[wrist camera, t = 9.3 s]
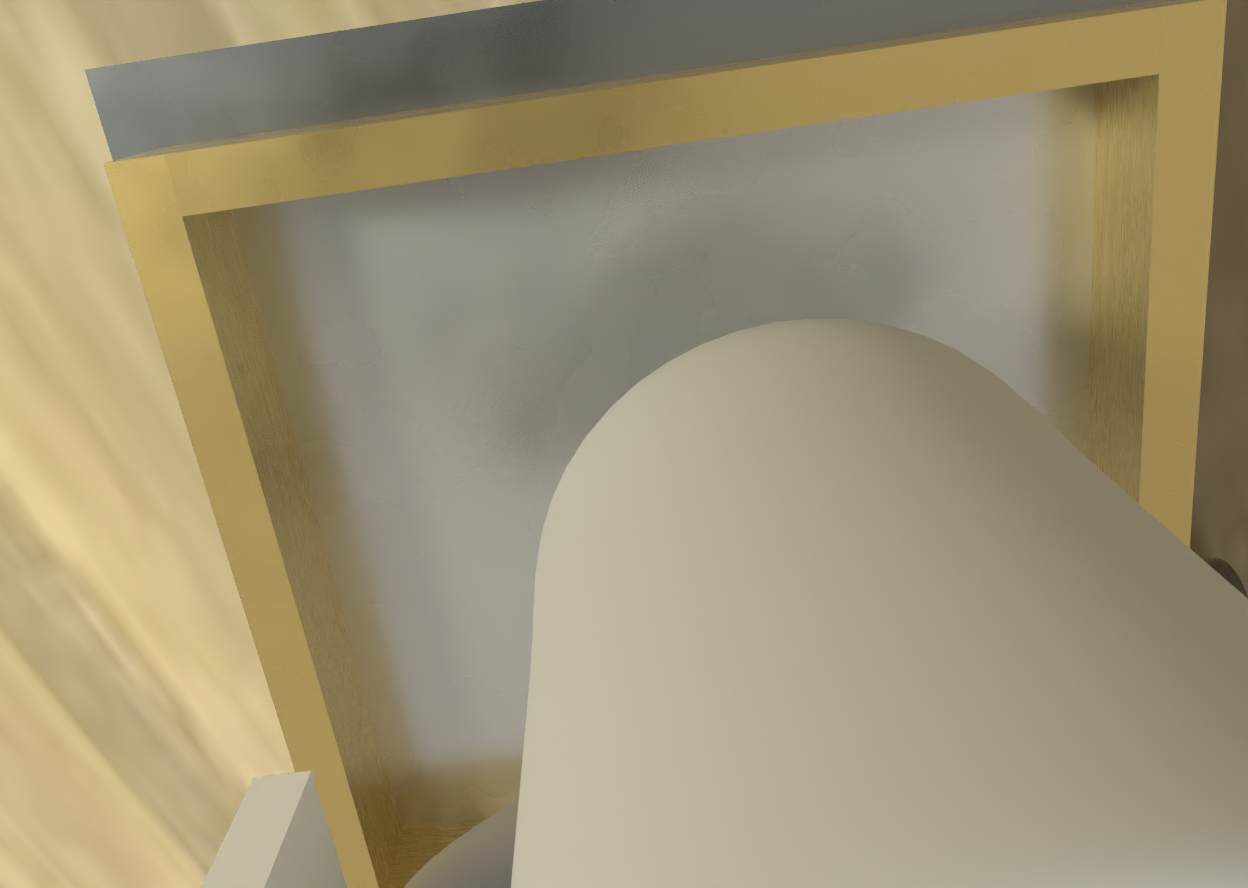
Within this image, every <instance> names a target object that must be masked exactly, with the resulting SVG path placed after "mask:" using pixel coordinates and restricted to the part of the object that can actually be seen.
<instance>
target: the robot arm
mask: <svg viewBox="0 0 1248 888" xmlns="http://www.w3.org/2000/svg"><path fill="white" fill-rule="evenodd" d="M201 888H347V885H346V882H345V879H344V876H343V872H342V869H341V866H340V863H339V859H338V856H337V853H336V849H335V846H334V843H333V840H332V836H331V833H330V830H329V827H328V823H327V820H326V817H325V813H324V810H323V807H322V804H321V800H320V797H319V794H318V791H317V787H316V784H315V781H314V777H313V774H312V771H303V772H295V773H287V774H279V775H271V776H263V777H255V778H253V780H252V782H251V784H250V786H249V788H248V790H247V792H246V795H245V797H244V799H243V801H242V803H241V805H240V807H239V809H238V811H237V813H236V815H235V818H234V820H233V822H232V824H231V826H230V828H229V830H228V832H227V834H226V836H225V839H224V841H223V843H222V845H221V847H220V849H219V851H218V853H217V855H216V857H215V860H214V862H213V864H212V866H211V868H210V870H209V872H208V874H207V876H206V878H205V881H204V883H203V885H202V887H201Z"/></svg>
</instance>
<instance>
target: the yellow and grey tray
mask: <svg viewBox="0 0 1248 888" xmlns="http://www.w3.org/2000/svg"><path fill="white" fill-rule="evenodd" d="M1226 10H1227V0H542V1H535V2H528V3H522V4H515V5H509V6H502V7H495V8H489V9H482V10H476V11H469V12H463V13H456V14H449V15H443V16H436V17H430V18H423V19H416V20H410V21H403V22H397V23H390V24H383V25H377V26H370V27H364V28H357V29H350V30H344V31H337V32H331V33H324V34H317V35H311V36H304V37H298V38H291V39H285V40H278V41H271V42H265V43H258V44H252V45H245V46H238V47H232V48H225V49H219V50H212V51H205V52H199V53H192V54H186V55H179V56H172V57H166V58H159V59H153V60H146V61H139V62H133V63H126V64H120V65H113V66H107V67H100V68H93V69H87V70H85V72H86V75H87V78H88V81H89V85H90V88H91V91H92V94H93V97H94V101H95V104H96V107H97V110H98V113H99V117H100V120H101V123H102V126H103V129H104V133H105V136H106V139H107V142H108V146H109V149H110V152H111V155H112V158H113V161H112V162H108V163H104V166H105V169H106V173H107V176H108V179H109V182H110V185H111V188H112V192H113V195H114V198H115V201H116V204H117V207H118V211H119V214H120V217H121V220H122V223H123V227H124V230H125V233H126V236H127V239H128V242H129V246H130V249H131V252H132V255H133V258H134V261H135V265H136V268H137V271H138V274H139V277H140V280H141V284H142V287H143V290H144V293H145V296H146V300H147V303H148V306H149V309H150V312H151V315H152V319H153V322H154V325H155V328H156V331H157V334H158V338H159V341H160V344H161V347H162V350H163V353H164V357H165V360H166V363H167V366H168V369H169V372H170V376H171V379H172V382H173V385H174V388H175V392H176V395H177V398H178V401H179V404H180V407H181V411H182V414H183V417H184V420H185V423H186V426H187V430H188V433H189V436H190V439H191V442H192V445H193V449H194V452H195V455H196V458H197V461H198V465H199V468H200V471H201V474H202V477H203V480H204V484H205V487H206V490H207V493H208V496H209V499H210V503H211V506H212V509H213V512H214V515H215V518H216V522H217V525H218V528H219V531H220V534H221V538H222V541H223V544H224V547H225V550H226V553H227V557H228V560H229V563H230V566H231V569H232V572H233V576H234V579H235V582H236V585H237V588H238V591H239V595H240V598H241V601H242V604H243V607H244V611H245V614H246V617H247V620H248V623H249V626H250V630H251V633H252V636H253V639H254V642H255V645H256V649H257V652H258V655H259V658H260V661H261V664H262V668H263V671H264V674H265V677H266V680H267V684H268V687H269V690H270V693H271V696H272V699H273V703H274V706H275V709H276V712H277V715H278V718H279V722H280V725H281V728H282V731H283V734H284V737H285V741H286V744H287V747H288V750H289V753H290V756H291V760H292V763H293V766H294V769H295V772H303V771H312V774H313V777H314V781H315V784H316V787H317V791H318V794H319V797H320V800H321V804H322V807H323V810H324V813H325V817H326V820H327V823H328V827H329V830H330V833H331V836H332V840H333V843H334V846H335V849H336V853H337V856H338V859H339V863H340V866H341V869H342V872H343V876H344V879H345V882H346V885H347V888H404V887H405V885H406V884H407V883H408V882H409V881H410V880H411V878H412V877H413V876H414V875H415V874H416V873H417V872H418V871H419V870H420V869H421V868H422V867H423V866H424V865H425V864H426V863H427V862H428V861H430V860H431V859H432V858H433V857H435V856H436V855H437V854H438V853H440V852H441V851H442V850H443V849H445V848H446V847H447V846H448V845H450V844H451V843H452V842H453V841H455V840H456V839H458V838H459V837H461V836H462V835H463V834H465V833H466V832H468V831H469V830H471V829H472V828H473V827H475V826H476V825H478V824H480V823H481V822H483V821H484V820H486V819H487V818H489V817H491V816H492V815H494V814H495V813H497V812H498V811H500V810H502V809H503V808H505V807H507V806H508V805H510V804H512V803H513V802H515V801H516V800H518V799H519V792H520V781H521V770H522V759H523V748H524V737H525V725H526V714H527V703H528V692H529V679H530V666H531V651H532V635H533V608H534V586H535V574H536V567H537V560H538V553H539V546H540V539H541V535H542V530H543V526H544V523H545V520H546V517H547V513H548V510H549V507H550V503H551V500H552V497H553V495H554V493H555V490H556V488H557V486H558V484H559V482H560V480H561V478H562V475H563V473H564V471H565V469H566V467H567V465H568V464H569V462H570V461H571V459H572V457H573V456H574V454H575V453H576V451H577V450H578V448H579V446H580V445H581V443H582V442H583V440H584V439H585V437H586V436H587V435H588V433H589V432H590V431H591V430H592V429H593V428H594V426H595V425H596V424H597V423H598V422H599V420H600V419H601V418H602V417H603V416H604V415H605V413H606V412H607V411H608V410H609V409H610V408H611V406H613V405H614V404H615V403H616V402H617V401H618V400H619V399H620V398H621V397H623V396H624V395H625V394H626V393H627V392H628V391H629V390H630V389H631V388H632V387H634V386H635V385H636V384H637V383H638V382H640V381H641V380H642V379H644V378H645V377H647V376H648V375H650V374H651V373H652V372H654V371H655V370H657V369H658V368H660V367H661V366H663V365H664V364H665V363H667V362H668V361H670V360H672V359H674V358H676V357H678V356H680V355H682V354H684V353H686V352H688V351H689V350H691V349H693V348H695V347H697V346H699V345H701V344H703V343H706V342H709V341H711V340H714V339H717V338H719V337H722V336H725V335H727V334H730V333H733V332H735V331H739V330H743V329H747V328H752V327H756V326H760V325H764V324H769V323H773V322H782V321H791V320H801V319H810V318H814V319H851V320H858V321H865V322H872V323H878V324H885V325H891V326H894V327H897V328H901V329H904V330H908V331H911V332H914V333H918V334H921V335H925V336H927V337H929V338H931V339H934V340H936V341H938V342H940V343H942V344H945V345H947V346H949V347H951V348H953V349H956V350H958V351H959V352H961V353H963V354H964V355H966V356H967V357H969V358H970V359H972V360H974V361H975V362H977V363H978V364H980V365H981V366H983V367H985V368H986V369H988V370H989V371H991V372H992V373H994V374H995V375H997V376H998V377H999V378H1000V379H1002V380H1003V381H1004V382H1005V383H1006V384H1007V385H1008V386H1010V387H1011V388H1012V389H1013V390H1014V391H1015V392H1017V393H1018V394H1019V395H1020V396H1021V397H1022V398H1024V399H1025V400H1026V401H1027V402H1028V403H1029V404H1030V405H1032V406H1033V407H1034V408H1035V409H1036V410H1037V411H1038V412H1039V413H1040V414H1041V415H1042V416H1044V417H1045V418H1046V419H1047V420H1048V421H1049V422H1050V423H1051V424H1052V425H1053V426H1054V427H1055V428H1056V429H1057V430H1058V431H1059V432H1060V433H1061V434H1062V435H1063V436H1064V437H1065V438H1066V439H1067V440H1068V441H1069V442H1070V443H1071V444H1073V445H1074V446H1075V447H1076V448H1077V449H1078V450H1079V451H1080V452H1081V453H1082V454H1083V455H1084V456H1086V457H1087V458H1088V459H1089V460H1090V461H1091V462H1092V463H1093V464H1094V465H1095V466H1096V467H1098V468H1099V469H1100V470H1101V471H1102V472H1103V473H1104V474H1105V475H1107V476H1108V477H1109V478H1110V479H1111V480H1112V481H1113V482H1114V483H1115V484H1117V485H1118V486H1119V487H1120V488H1121V489H1122V490H1123V491H1125V492H1126V493H1127V494H1128V495H1129V496H1130V497H1131V498H1133V499H1134V500H1135V501H1136V502H1137V503H1138V504H1139V505H1141V506H1142V507H1143V508H1144V509H1145V510H1146V511H1147V512H1149V513H1150V514H1151V515H1152V516H1153V517H1154V518H1156V519H1157V520H1158V521H1159V522H1160V523H1161V524H1162V525H1164V526H1165V527H1166V528H1167V529H1168V530H1169V531H1171V532H1172V533H1173V534H1174V535H1175V536H1176V537H1177V538H1179V539H1180V540H1181V541H1182V542H1183V543H1184V544H1185V545H1187V546H1188V547H1189V548H1190V538H1191V523H1192V508H1193V494H1194V479H1195V464H1196V450H1197V435H1198V420H1199V406H1200V391H1201V376H1202V362H1203V347H1204V332H1205V318H1206V303H1207V288H1208V274H1209V259H1210V244H1211V230H1212V215H1213V200H1214V186H1215V171H1216V156H1217V142H1218V127H1219V112H1220V98H1221V83H1222V68H1223V54H1224V39H1225V24H1226ZM1203 560H1204V561H1205V562H1206V563H1207V564H1209V565H1210V566H1211V567H1212V568H1213V569H1214V570H1215V571H1217V572H1218V573H1219V574H1220V575H1221V576H1222V577H1224V578H1225V579H1226V580H1227V581H1228V582H1229V583H1230V584H1232V585H1233V586H1234V587H1235V588H1236V589H1237V590H1238V591H1240V592H1241V593H1242V594H1243V595H1244V596H1245V597H1247V594H1246V591H1245V589H1244V586H1243V584H1242V582H1241V580H1240V578H1239V577H1238V575H1237V574H1236V572H1235V571H1234V570H1233V568H1232V567H1231V566H1230V565H1229V564H1228V563H1226V562H1225V561H1224V560H1222V559H1219V558H1209V559H1203ZM1247 598H1248V597H1247Z"/></svg>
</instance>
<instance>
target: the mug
mask: <svg viewBox="0 0 1248 888" xmlns="http://www.w3.org/2000/svg"><path fill="white" fill-rule="evenodd" d="M404 888H1248V598H1247V597H1245V596H1244V595H1243V594H1242V593H1241V592H1240V591H1238V590H1237V589H1236V588H1235V587H1234V586H1233V585H1232V584H1230V583H1229V582H1228V581H1227V580H1226V579H1225V578H1224V577H1222V576H1221V575H1220V574H1219V573H1218V572H1217V571H1215V570H1214V569H1213V568H1212V567H1211V566H1210V565H1209V564H1207V563H1206V562H1205V561H1204V560H1203V559H1202V558H1200V557H1199V556H1198V555H1197V554H1196V553H1195V552H1194V551H1192V550H1191V549H1190V548H1189V547H1188V546H1187V545H1185V544H1184V543H1183V542H1182V541H1181V540H1180V539H1179V538H1177V537H1176V536H1175V535H1174V534H1173V533H1172V532H1171V531H1169V530H1168V529H1167V528H1166V527H1165V526H1164V525H1162V524H1161V523H1160V522H1159V521H1158V520H1157V519H1156V518H1154V517H1153V516H1152V515H1151V514H1150V513H1149V512H1147V511H1146V510H1145V509H1144V508H1143V507H1142V506H1141V505H1139V504H1138V503H1137V502H1136V501H1135V500H1134V499H1133V498H1131V497H1130V496H1129V495H1128V494H1127V493H1126V492H1125V491H1123V490H1122V489H1121V488H1120V487H1119V486H1118V485H1117V484H1115V483H1114V482H1113V481H1112V480H1111V479H1110V478H1109V477H1108V476H1107V475H1105V474H1104V473H1103V472H1102V471H1101V470H1100V469H1099V468H1098V467H1096V466H1095V465H1094V464H1093V463H1092V462H1091V461H1090V460H1089V459H1088V458H1087V457H1086V456H1084V455H1083V454H1082V453H1081V452H1080V451H1079V450H1078V449H1077V448H1076V447H1075V446H1074V445H1073V444H1071V443H1070V442H1069V441H1068V440H1067V439H1066V438H1065V437H1064V436H1063V435H1062V434H1061V433H1060V432H1059V431H1058V430H1057V429H1056V428H1055V427H1054V426H1053V425H1052V424H1051V423H1050V422H1049V421H1048V420H1047V419H1046V418H1045V417H1044V416H1042V415H1041V414H1040V413H1039V412H1038V411H1037V410H1036V409H1035V408H1034V407H1033V406H1032V405H1030V404H1029V403H1028V402H1027V401H1026V400H1025V399H1024V398H1022V397H1021V396H1020V395H1019V394H1018V393H1017V392H1015V391H1014V390H1013V389H1012V388H1011V387H1010V386H1008V385H1007V384H1006V383H1005V382H1004V381H1003V380H1002V379H1000V378H999V377H998V376H997V375H995V374H994V373H992V372H991V371H989V370H988V369H986V368H985V367H983V366H981V365H980V364H978V363H977V362H975V361H974V360H972V359H970V358H969V357H967V356H966V355H964V354H963V353H961V352H959V351H958V350H956V349H953V348H951V347H949V346H947V345H945V344H942V343H940V342H938V341H936V340H934V339H931V338H929V337H927V336H925V335H921V334H918V333H914V332H911V331H908V330H904V329H901V328H897V327H894V326H891V325H885V324H878V323H872V322H865V321H858V320H851V319H814V318H810V319H801V320H791V321H782V322H773V323H769V324H764V325H760V326H756V327H752V328H747V329H743V330H739V331H735V332H733V333H730V334H727V335H725V336H722V337H719V338H717V339H714V340H711V341H709V342H706V343H703V344H701V345H699V346H697V347H695V348H693V349H691V350H689V351H688V352H686V353H684V354H682V355H680V356H678V357H676V358H674V359H672V360H670V361H668V362H667V363H665V364H664V365H663V366H661V367H660V368H658V369H657V370H655V371H654V372H652V373H651V374H650V375H648V376H647V377H645V378H644V379H642V380H641V381H640V382H638V383H637V384H636V385H635V386H634V387H632V388H631V389H630V390H629V391H628V392H627V393H626V394H625V395H624V396H623V397H621V398H620V399H619V400H618V401H617V402H616V403H615V404H614V405H613V406H611V408H610V409H609V410H608V411H607V412H606V413H605V415H604V416H603V417H602V418H601V419H600V420H599V422H598V423H597V424H596V425H595V426H594V428H593V429H592V430H591V431H590V432H589V433H588V435H587V436H586V437H585V439H584V440H583V442H582V443H581V445H580V446H579V448H578V450H577V451H576V453H575V454H574V456H573V457H572V459H571V461H570V462H569V464H568V465H567V467H566V469H565V471H564V473H563V475H562V478H561V480H560V482H559V484H558V486H557V488H556V490H555V493H554V495H553V497H552V500H551V503H550V507H549V510H548V513H547V517H546V520H545V523H544V526H543V530H542V535H541V539H540V546H539V553H538V560H537V567H536V574H535V586H534V608H533V635H532V651H531V666H530V679H529V692H528V703H527V714H526V725H525V737H524V748H523V759H522V770H521V781H520V792H519V799H518V800H516V801H515V802H513V803H512V804H510V805H508V806H507V807H505V808H503V809H502V810H500V811H498V812H497V813H495V814H494V815H492V816H491V817H489V818H487V819H486V820H484V821H483V822H481V823H480V824H478V825H476V826H475V827H473V828H472V829H471V830H469V831H468V832H466V833H465V834H463V835H462V836H461V837H459V838H458V839H456V840H455V841H453V842H452V843H451V844H450V845H448V846H447V847H446V848H445V849H443V850H442V851H441V852H440V853H438V854H437V855H436V856H435V857H433V858H432V859H431V860H430V861H428V862H427V863H426V864H425V865H424V866H423V867H422V868H421V869H420V870H419V871H418V872H417V873H416V874H415V875H414V876H413V877H412V878H411V880H410V881H409V882H408V883H407V884H406V885H405V887H404Z"/></svg>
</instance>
